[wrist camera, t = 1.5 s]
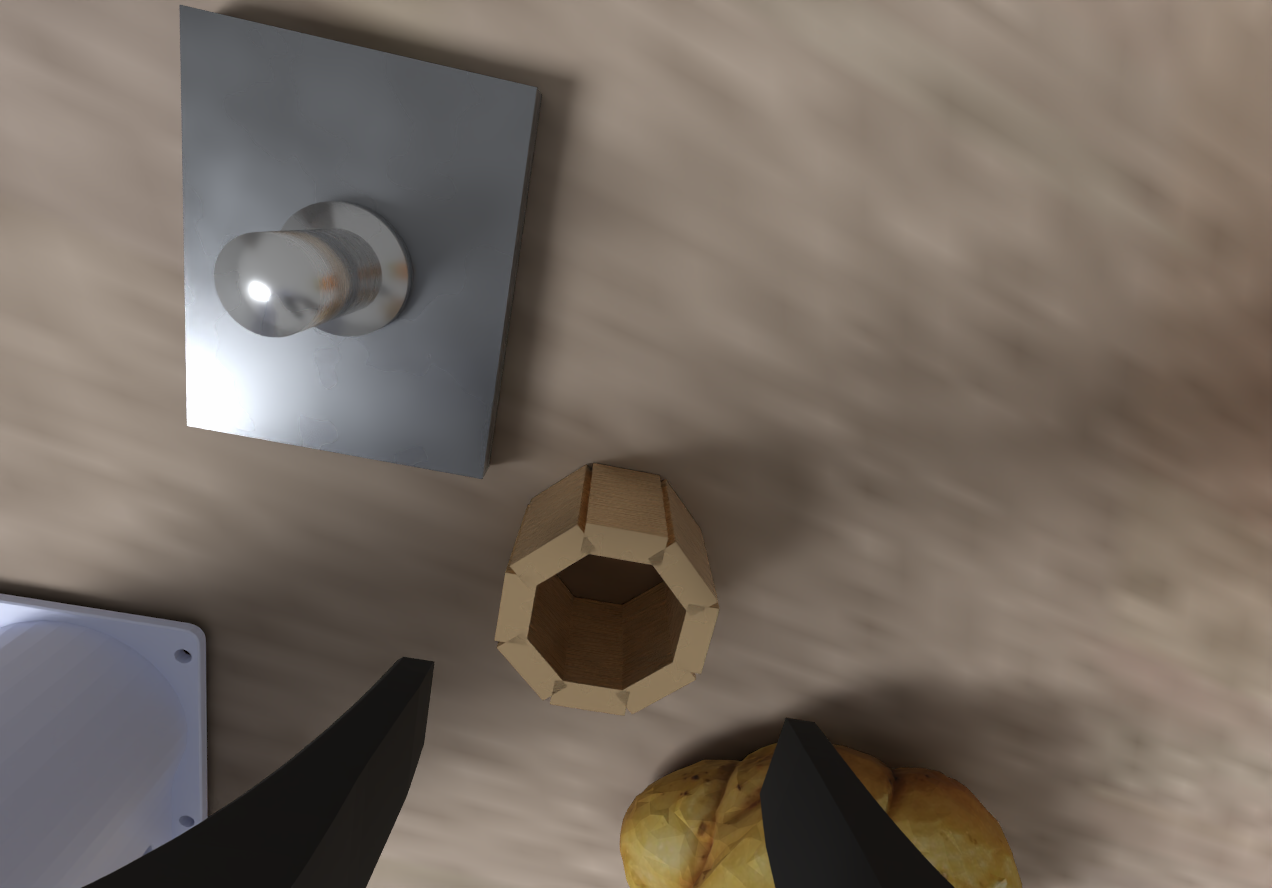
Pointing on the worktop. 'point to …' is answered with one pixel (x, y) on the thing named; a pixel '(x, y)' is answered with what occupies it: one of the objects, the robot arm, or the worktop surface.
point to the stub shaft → (348, 242)
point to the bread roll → (734, 836)
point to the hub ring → (600, 631)
